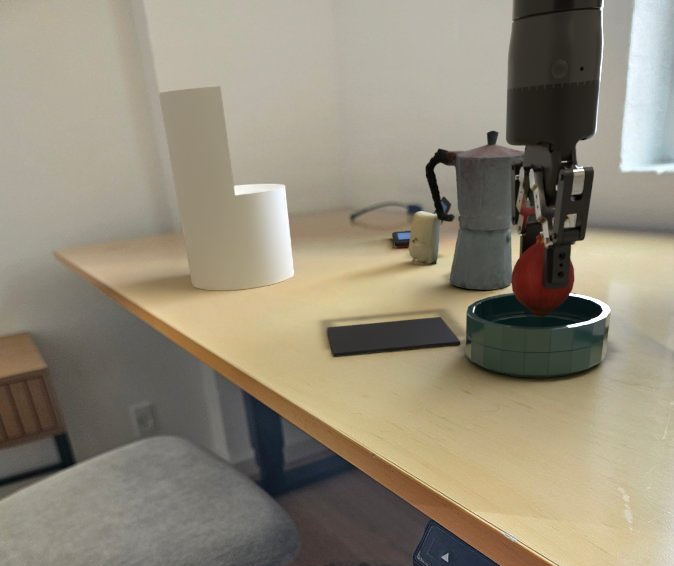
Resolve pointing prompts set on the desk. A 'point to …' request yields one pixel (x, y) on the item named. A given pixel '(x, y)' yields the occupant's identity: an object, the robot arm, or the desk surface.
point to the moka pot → (479, 213)
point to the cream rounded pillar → (424, 238)
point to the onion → (537, 282)
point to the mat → (390, 336)
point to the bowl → (536, 336)
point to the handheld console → (403, 237)
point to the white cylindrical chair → (222, 200)
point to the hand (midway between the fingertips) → (542, 279)
